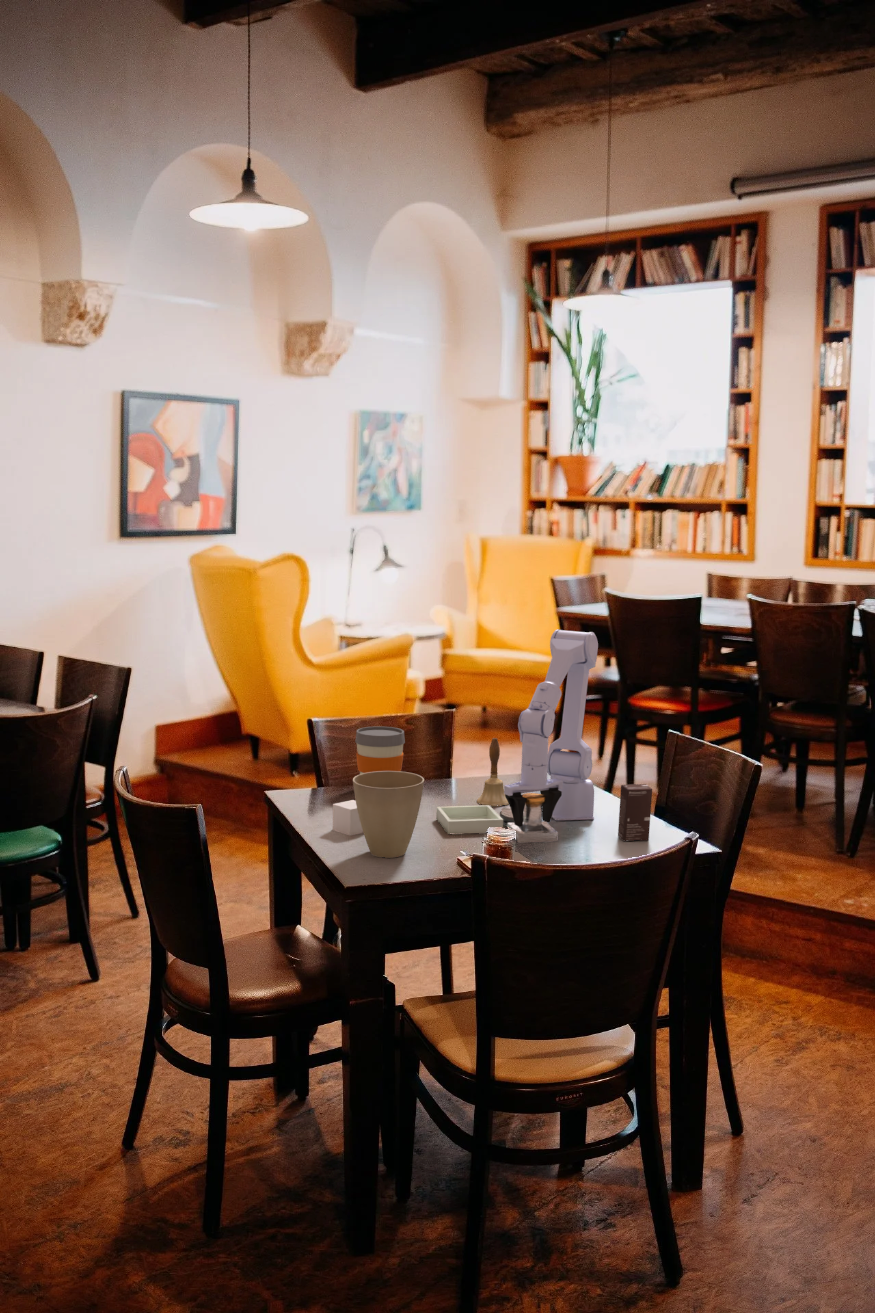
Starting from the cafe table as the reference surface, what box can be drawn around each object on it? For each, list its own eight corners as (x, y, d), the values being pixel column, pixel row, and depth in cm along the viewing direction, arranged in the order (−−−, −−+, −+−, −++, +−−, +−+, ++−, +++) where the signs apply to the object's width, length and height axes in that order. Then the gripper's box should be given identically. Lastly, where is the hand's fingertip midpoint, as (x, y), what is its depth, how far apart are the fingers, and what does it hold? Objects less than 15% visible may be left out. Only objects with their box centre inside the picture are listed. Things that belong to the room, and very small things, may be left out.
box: (624, 842, 269) (627, 789, 267) (617, 836, 273) (619, 784, 272) (650, 841, 270) (653, 788, 269) (642, 835, 275) (645, 783, 273)
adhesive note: (350, 836, 269) (350, 809, 269) (332, 830, 274) (332, 804, 273) (370, 831, 274) (370, 805, 273) (352, 825, 278) (353, 799, 277)
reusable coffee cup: (344, 787, 312) (345, 730, 310) (382, 780, 320) (383, 724, 318) (376, 797, 303) (377, 738, 301) (414, 790, 311) (415, 732, 309)
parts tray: (488, 817, 287) (489, 805, 286) (502, 832, 275) (503, 819, 274) (436, 819, 284) (436, 806, 284) (448, 834, 272) (448, 821, 271)
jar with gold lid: (539, 832, 275) (541, 792, 274) (546, 839, 270) (548, 798, 269) (517, 833, 274) (518, 793, 273) (524, 840, 269) (525, 799, 268)
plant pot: (370, 839, 267) (371, 767, 265) (433, 848, 261) (435, 775, 259) (339, 857, 253) (340, 782, 251) (404, 867, 248) (406, 790, 245)
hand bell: (470, 803, 300) (472, 739, 298) (487, 796, 307) (489, 733, 305) (499, 808, 295) (501, 743, 293) (516, 801, 302) (518, 738, 300)
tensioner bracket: (531, 817, 288) (532, 801, 287) (557, 841, 269) (558, 824, 268) (494, 818, 286) (495, 802, 286) (518, 842, 267) (518, 825, 266)
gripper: (550, 756, 277) (548, 815, 279) (497, 762, 270) (495, 823, 271) (569, 763, 271) (567, 822, 273) (515, 769, 264) (513, 830, 265)
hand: (532, 823), depth 272 cm, fingers open, 7 cm apart
